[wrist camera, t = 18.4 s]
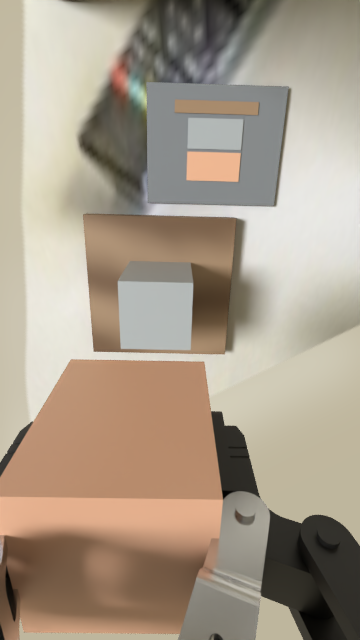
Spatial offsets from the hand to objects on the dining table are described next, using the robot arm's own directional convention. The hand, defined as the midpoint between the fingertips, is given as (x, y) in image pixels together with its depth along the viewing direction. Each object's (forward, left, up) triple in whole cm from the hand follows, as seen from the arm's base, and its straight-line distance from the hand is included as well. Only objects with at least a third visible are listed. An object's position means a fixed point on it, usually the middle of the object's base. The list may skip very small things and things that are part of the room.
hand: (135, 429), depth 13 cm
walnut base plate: (0, 0, -18) cm, 18 cm away
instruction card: (-11, +4, -19) cm, 22 cm away
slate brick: (0, 0, -17) cm, 17 cm away
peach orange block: (0, 0, -1) cm, 1 cm away
